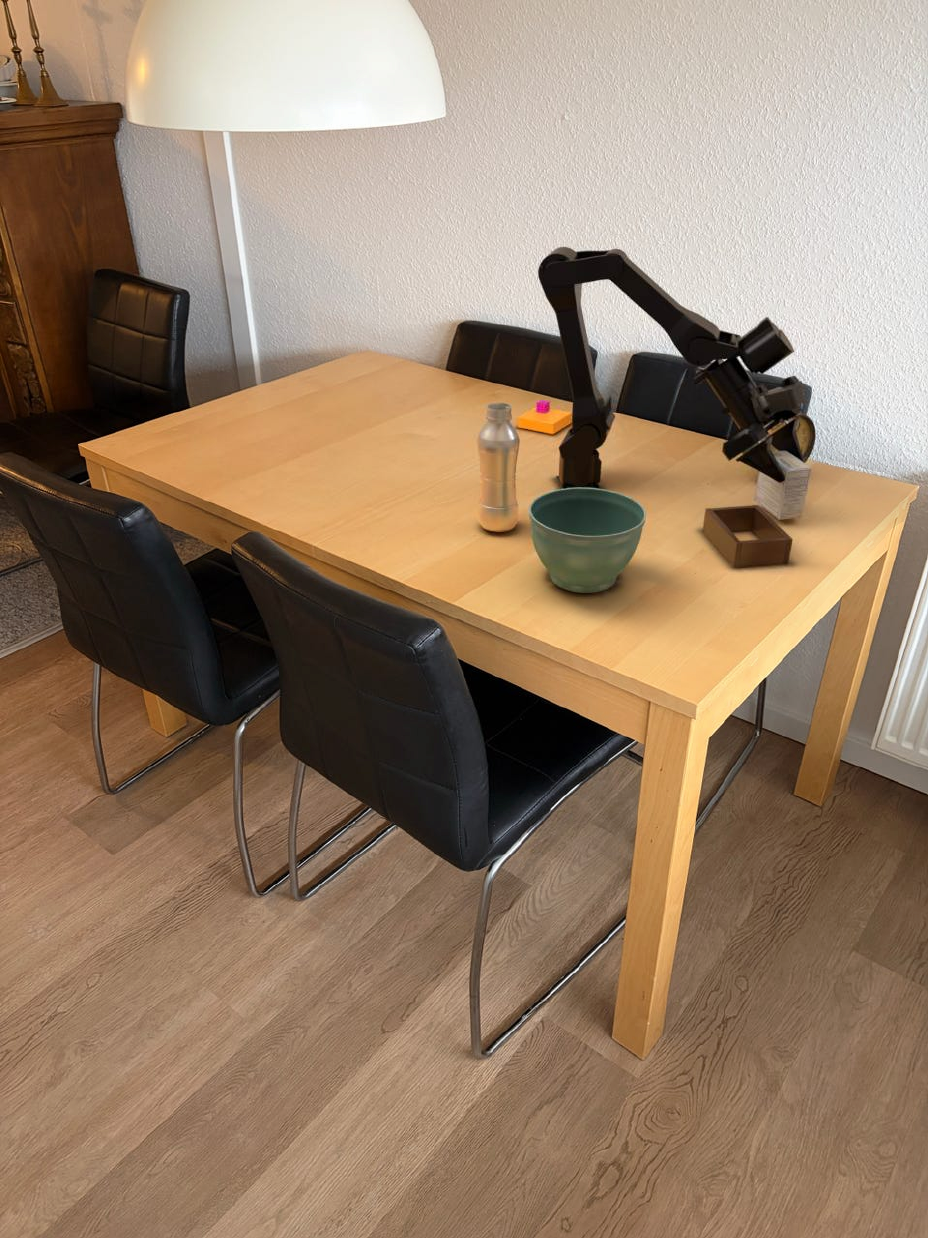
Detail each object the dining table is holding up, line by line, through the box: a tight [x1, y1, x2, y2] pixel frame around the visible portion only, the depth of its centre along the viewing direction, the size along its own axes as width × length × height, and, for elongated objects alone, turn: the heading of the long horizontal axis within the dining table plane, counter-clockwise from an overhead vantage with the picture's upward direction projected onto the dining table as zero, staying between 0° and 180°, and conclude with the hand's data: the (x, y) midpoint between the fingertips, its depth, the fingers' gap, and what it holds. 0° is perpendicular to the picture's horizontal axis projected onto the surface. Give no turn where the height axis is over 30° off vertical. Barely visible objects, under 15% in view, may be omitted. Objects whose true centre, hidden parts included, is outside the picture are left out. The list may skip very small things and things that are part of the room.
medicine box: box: [754, 451, 812, 521], centre depth 157 cm, size 8×4×9 cm, turn 15°
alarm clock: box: [765, 412, 817, 463], centre depth 170 cm, size 11×5×16 cm, turn 117°
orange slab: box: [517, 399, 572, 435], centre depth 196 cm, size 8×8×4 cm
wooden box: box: [702, 504, 793, 569], centre depth 149 cm, size 9×13×4 cm
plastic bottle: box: [476, 402, 521, 533], centre depth 151 cm, size 6×7×20 cm
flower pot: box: [528, 487, 647, 594], centre depth 138 cm, size 16×16×11 cm
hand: (792, 473), depth 155 cm, fingers closed on medicine box, 8 cm apart
